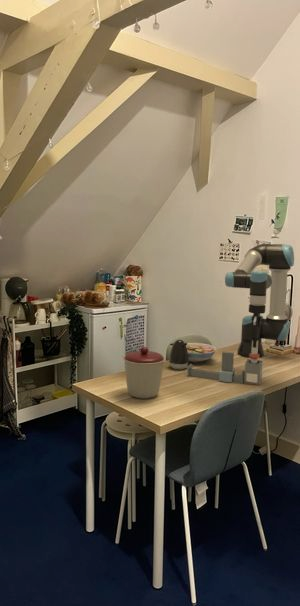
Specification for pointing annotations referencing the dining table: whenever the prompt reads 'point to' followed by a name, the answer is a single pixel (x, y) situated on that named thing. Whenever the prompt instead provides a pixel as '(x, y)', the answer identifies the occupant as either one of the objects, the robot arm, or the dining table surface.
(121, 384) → the dining table surface
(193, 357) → the ramen bowl
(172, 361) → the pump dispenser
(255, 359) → the plunger
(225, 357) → the carriage
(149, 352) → the canister
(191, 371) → the rail
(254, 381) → the grey square housing
